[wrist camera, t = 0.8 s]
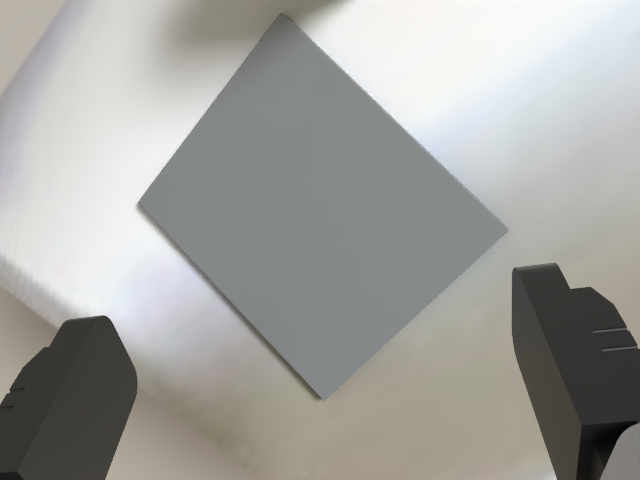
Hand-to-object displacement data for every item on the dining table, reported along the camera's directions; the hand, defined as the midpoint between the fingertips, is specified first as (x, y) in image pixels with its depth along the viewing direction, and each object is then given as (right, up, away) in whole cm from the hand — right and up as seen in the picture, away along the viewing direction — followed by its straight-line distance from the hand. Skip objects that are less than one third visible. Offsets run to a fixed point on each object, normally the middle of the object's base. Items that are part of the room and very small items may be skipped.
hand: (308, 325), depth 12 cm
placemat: (0, +3, +19) cm, 19 cm away
